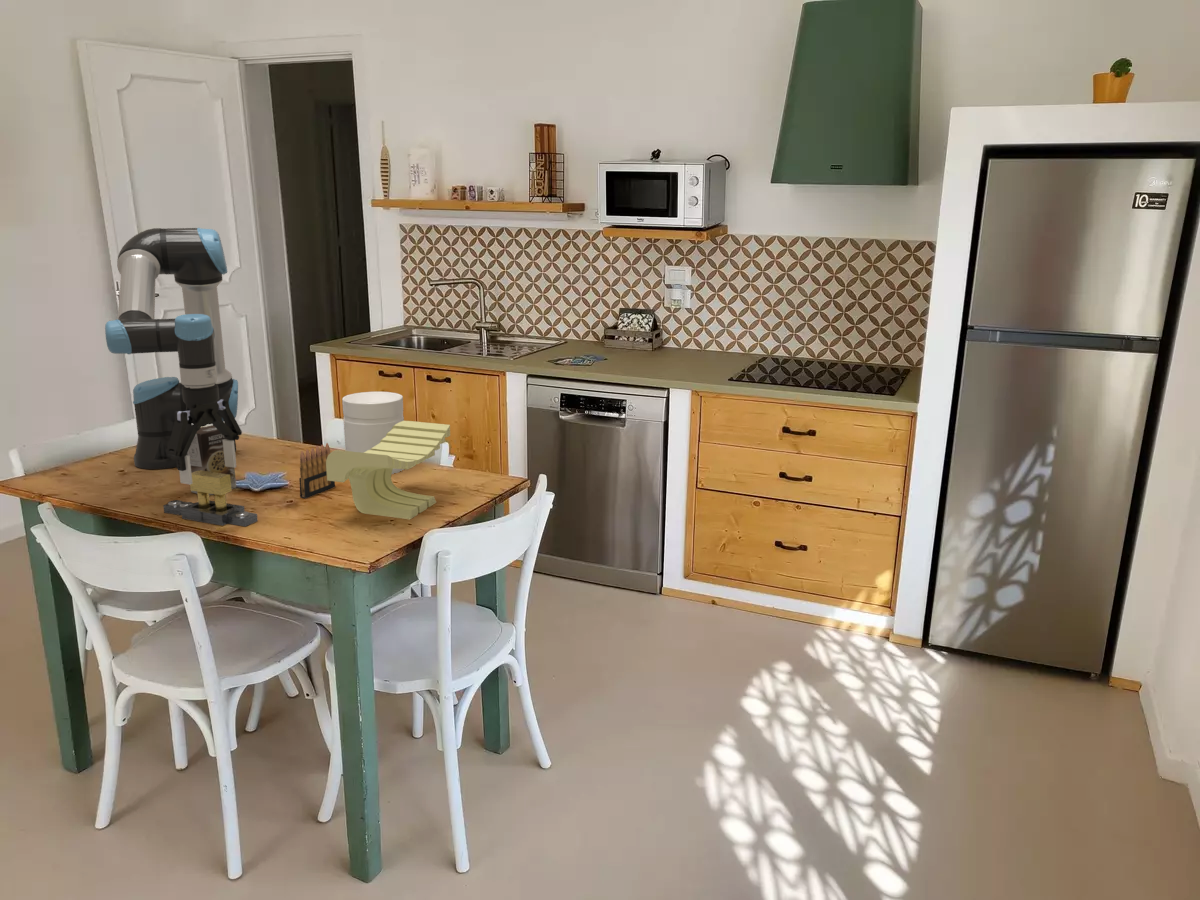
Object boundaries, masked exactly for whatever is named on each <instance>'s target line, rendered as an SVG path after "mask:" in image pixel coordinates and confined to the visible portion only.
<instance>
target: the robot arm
mask: <svg viewBox="0 0 1200 900" xmlns="http://www.w3.org/2000/svg"><path fill="white" fill-rule="evenodd" d="M224 252H225V251H224V248H223V244H222V240H221V237H220V234H219V232H218V231H216V230H215V229H213V228H201V227H186V228H184V227H182V228H181V227H178V228H176V227H175V228H171V227H170V228H159V227H158V228H157V227H156V228H149V229H145V230H143V231H141V232H139V233H137V234H135V235H134V236H132V237H131V238H130V239H129V240H128V241H127V242H125V243H124V245H123V246H122V247H121V249H120V251H119V253H118V255H117V271H118V273H119V274H120V284H119V297H118V306H117V307H118V308H117V309H118V311H117V319H114V320H109V321H106V323H105V327H104V329H105V331H104V333H105V341H106V346H107V349H108V351H109V352H110V353H112V354H116V355H117V354H118V355H119V354H121V355H122V354H123V355H124V354H125V355H132V354H133V355H134V354H151V353H175V352H177V355H178V356H177V357H178V362H179V363H178V365H179V368H178V369H179V374H180V375H179V376H180V379H179V378H178V377H176V376H164V377H158V378H153V379H149V380H144V381H142V382H140V383H138V384H136V385H135V386H134V387H133V390H132V393H133V394H132V395H133V401H132V404H133V405H134V412H135V421H136V429H137V442H136V447H135V453H134V455H133V462H134V463H133V464H134V466H135V467H137V468H139V469H143V470H144V469H145V470H160V469H161V470H162V469H171V468H176V469H177V471H178V472H179V481H180V484H184V485H189V486H190V484H193V483H192V474H191V465H190V456H188V454H187V452H188V450H189V448H190V446H191V443H192V441H193V439H194V437H195V435H196V433H197V431H198V430H200V428H202V427H207V426H208V425H214V426H215V427H216V428H217V430H218V431H219V432H220V433H221V434H222V435H223V436H224V437H225V438H227V439H224V440H223V450H224V460H225V466H226V467H232V468H237V456H236V452H237V445H236V444H237V443H236V441H238V440H240V436H241V435H242V433H243V431H242V429H241V427H240V426H239V423H238V422H237V420H236V417H237V415H238V403H239V402H238V400H239V382H238V379H235V378H233V374H232V372H230V371H229V370H228V369H226V362H225V354H224V343H223V333H222V331H223V330H222V324H221V314H220V304H219V292H218V286H219V285H220V284H221V283H222V282H223V276H224V275H225V274H227V273H228V267H227V261H226V256H225V253H224ZM159 275H173V276H174V282H175V283H176V284H177V285H178V286H180V287H181V290H182V291H181V292H182V299H183V307H184V314H181V315H177V316H176V317H175V318H155V312H156V311H155V308H156V307H155V306H156V304H155V303H156V279H157V278H158V277H159Z"/></svg>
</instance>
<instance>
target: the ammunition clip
mask: <svg viewBox="0 0 1200 900" xmlns="http://www.w3.org/2000/svg"><path fill="white" fill-rule="evenodd" d="M330 453H331V449H330V444H329V443H328V442H326V443H325V446H324V444H321V446H320V447H319V446H318V445H317V446H316V447H315V449H314V447H311V449H310V450H309V449H308V448H306V450H305V453H304V451H303V450H301V452H300V454H299V455H300V457H299V460H300V461H299V462H300V463H299V465H300V466H299V475H300V477H298V479H299V480H298V481H299V498H300V499H309V498H311V497H314V496H317V495H319V494H321V493H324V492H327V491H329V490H332V489H335V487H336V481H328V480H327V471H326V460H327V457H328V455H329V454H330Z"/></svg>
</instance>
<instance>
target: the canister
mask: <svg viewBox="0 0 1200 900" xmlns="http://www.w3.org/2000/svg"><path fill="white" fill-rule="evenodd" d="M341 400H342V401H341V403H342V414H343V435H344V449H345V450H344V451H352V452H361V453H363V452H366V451H368V450H371V448H373V447H374V446H376V445H377V444H379V443H380V441H381V440H382V439H383V438H384V437H386V434H387V433H388V432H389V431H391V429H392V427H393V426H394V425H395V424H397V423H399V422H401V421H405V419H404V396H403V395H402V394H400V393H398V392H390V391H363V392H355V393H350V394H347V395H344V396H343V397H342V399H341ZM402 470H403V471H404V470H405V469H393V470H392V474H391V475H395V474H394V473H396V474H398V473H400V471H401V472H402Z"/></svg>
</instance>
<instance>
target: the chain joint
mask: <svg viewBox="0 0 1200 900" xmlns="http://www.w3.org/2000/svg"><path fill="white" fill-rule="evenodd" d="M226 504H227V510H226V511H224V512H216V507H215V500H210V508H207V509H205V510H204V509H199V503H198V501H196V502H192V501H183V500H180V499H179V500H178V499H176V500H175V499H174V500H169V501H167V503H166V504H164V505H162V506H163V513H164V514H170V515H177V516H181V518H182V519H183V520H189V521H194V522H201V523H205V524H211V525H218V526H222V527H223V526H226V525H233V526H240V527H248V526H250V525H253V524H255V523H256V522H258V521H259V520H258V513H256V512H249V511H246V510H245V505H239V504H234V503H227V502H226Z"/></svg>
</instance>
